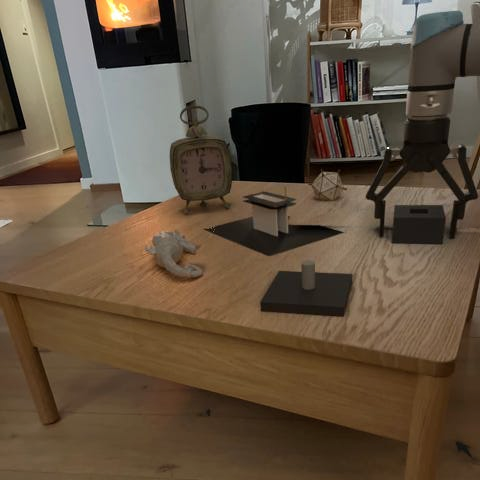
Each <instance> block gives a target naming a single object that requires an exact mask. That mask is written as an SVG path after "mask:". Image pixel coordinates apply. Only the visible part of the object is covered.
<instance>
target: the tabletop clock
mask: <svg viewBox="0 0 480 480" xmlns="http://www.w3.org/2000/svg"><path fill="white" fill-rule="evenodd" d="M192 109H200V110H202V111H204V112H205V113H206V117H204V119H201V120H199V121H198V119H197V118H196V117H194V118H192V121H186V120H184V119H183V115H184V113H185V112H186V111H188V110H192ZM209 115H210V114H209V111H208V109H207V108H206V107H205V106H202V105H197V104H196V105H188V106H186V107H184V108H182V110H181V111H180V113H179V119H180V121H181V122H182V123H183V124H184V125H189V126H190V127H189V128H188V129H187V131H186V134H185V137H183V138H180V139H176V140H175V141H173V142H171V143H170V147H169V168H170V174H171V178H172V183H173V186H174V189H175V190H176V192H177V194H178V195H179V197H180V199H181V200H183V201H185V202H186V203H185V207H184V208H183V209H182V214H183V215H186V216H187V215H188V214H189V212H190V209H188V208H189V205H190V203H191V202H199V201H201V202H200V204H199V206H200V208H202V209H205V208H206V207H207V202H206V201H209V200H215V199H220V200H221V202H222V203H223V205H222V206H223V208H224V209H225V210H228V209H229V208H230V203H229V202H228V201H227V202H226V201H225V198H224V197H226V196H227V195H229V194H230V193H231V189H232V186H233V165H232V159H231V158H232V157H231V154H230V150H229V149H230V148H229V146H228V144H227V142H226V141H225V140H224V139H222V138H220V137H217V136H215V135H208V133H207V130H206V129H205V128H204V127H203V126H200V125H202V124H203V123H206V121H207V120H208V119H209Z"/></svg>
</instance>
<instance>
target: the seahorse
mask: <svg viewBox="0 0 480 480" xmlns="http://www.w3.org/2000/svg"><path fill="white" fill-rule="evenodd" d="M151 243H152V245H153V246H151V245H146V246H144V250H145V251H146V253H148V254H149V255H154V258H155V260H156V262H157V265H158V266H159V267H161V268H164V269H165V270H166V271H167V272H170V273H171V274H172V275H175V276H178V277H179V278H181V277H183V278H187V279H190V278H198V277H201V276H203V274H204V273H203V269H201V267H200V266H196V264H191V263H190V262H188V263H187V264H184V266H183V267H181V265H179V264H178V263H179V262H180V261H181V259H182V257H183V254H184V251H185V252H187V253H191V254H193V255H194V254H195V253H196V252H197V246H196V245H195V244H193V243H192V242H190V240H188V238H186V236H184V235H182V234H181V233H180V231H179V230H178V229H176V228H175V229H174V232H173V231H160V232H158V233H156V234H154V235H153V236H152V238H151Z"/></svg>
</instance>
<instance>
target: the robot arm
mask: <svg viewBox="0 0 480 480" xmlns="http://www.w3.org/2000/svg"><path fill="white" fill-rule="evenodd" d="M464 21H465V20H464V14H463V12H462V11H460V10H447V11H437V12H431V13H425V14H421V15H419V16H418V17H417V18H416V19H415V20H414V23H413V28H412V36H411V43H410V47H409V66H408V67H409V68H408V80H407V81H408V83H407V91H406V102H405V116H406V117H408V118H406V120H405V121H404V128H403V141H402V146H401V147H400V148H394V147H393V148H392V147H391V146H387V147H386V148H385V149H384V154H383V159H382V162H381V164H380V166H379V168H378V170H377V172H376V174H375V176H374V178H373V179H372V181H371V184H370V186H369V188H368V190H367V192H366V194H365V200H367V201H372V202H373V203H374V213H373V215H374V219H375V220H379V231H378V237H379V238H380V237H381V238H382V237H384V232H385V217H386V215H385V214H386V203H387V201H386V199H385V198H386V197H387V196H388V195H389V193H390V192H391V191H392V190H393V189H394V188H395V187H396V186H397V184H399V182H400V181H401V180H402V179H403V178H404V177H405V176H406V175H407V174H408V173H409V171H410V172H413V174H417V173H422V172H423V173H432V172H435V171H436V172H437V173H438V174H439V175H440V176H441V178H442V179H443V180H444V182H445V183H446V185H447V186H448V187H449V189H450V191H451V192H452V193H453V195H454V196H455V198H456V199H455V200H453V204H452V212H451V218H450V219H451V220H450V227H449V234H448V235H449V238H450V239H455V238H456V232H457V225H458V221H463V220H464V218H465V212H466V207H467V206H466V205H467V203H468V202H469V201H475V200H478V198H479V193H478V191H477V187H476V185H475V182H474V179H473V176H472V173H471V170H470V167H469V164H468V161H467V147H466V146H465V144H463V143H462V144H459V145H457V146H449V137H450V128H451V119H450V117H449V116H448V115H450V114H452V110H453V101H454V92H455V87H456V86H455V85H456V78H467V77H480V22H478V23H464ZM449 155H452V157H453V159H454V160H457V163H458V165H459V168H460V171H461V174H462V176H463V180H464V182H465V184H466V189H467V191H468V192H465V193H464V191H463V190H462V189H461V187H460V186H459V184H458V183H457V182H456V180H455V179H454V177H453V176H452V174H451V173H450V172H449V170H448V169H447V167H446V165H445V164H444V163H443V162H444V161H445V160H446V159H447V158H448V156H449ZM398 156H399V157H400V158H401V160H402V161H403V164H402V165H401V166H400V167H399V169H397V171H396V172H395V174H393V176H392V177H391V178H390V179H389V180H388V181H387V182H386V184H384V186H383V187H382V188H381V189H380V190H379V192H377V193H376V191H377V189H378V187H379V185H380V184H381V181H382V179H383V178H384V176H385V174H386V172H387V170H388V168H389V167H390V163H391V162H393V161H395V160H396V158H397V157H398ZM384 199H385V200H384Z"/></svg>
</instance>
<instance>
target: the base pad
mask: <svg viewBox="0 0 480 480" xmlns="http://www.w3.org/2000/svg"><path fill="white" fill-rule="evenodd" d="M300 267H301V271H296V270H295V271H293V270H292V271H291V270H279V271H278V272H277V273H276V275H275V276H274V278H273V279H272V282H271V283H270V285H269V287H268V288H267V290H266V292H265V293H264V294H263V297H262V298H261V300H260V302H259V303H260V312H271V313H285V314H286V313H287V314H299V315H300V314H301V315H315V316H331V317H332V316H333V317H345V313H346V309H347V305H348V302H349V297H350V293H351V289H352V285H353V273H342V272H317V271H316V262H315V260H311V259H307V260H302V261H301V263H300Z"/></svg>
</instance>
